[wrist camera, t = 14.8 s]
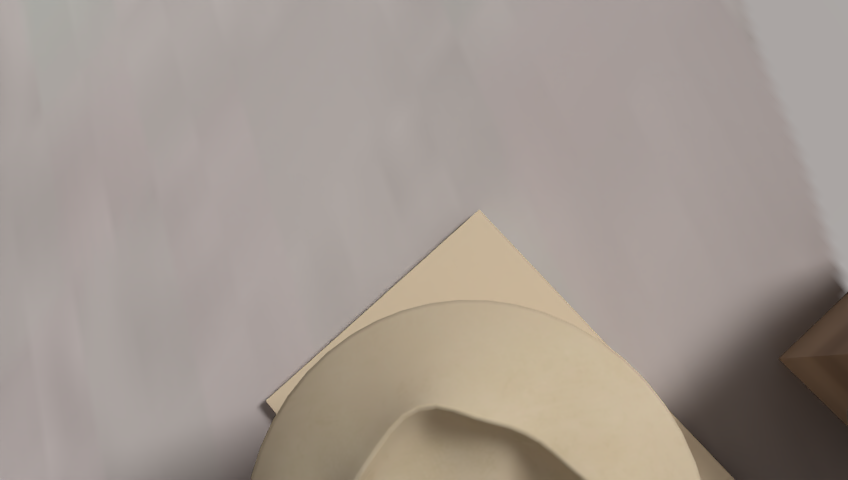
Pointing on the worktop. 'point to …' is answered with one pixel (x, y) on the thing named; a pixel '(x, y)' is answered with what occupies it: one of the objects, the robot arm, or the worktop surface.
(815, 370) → the block
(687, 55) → the worktop surface
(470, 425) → the candle
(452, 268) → the letter
